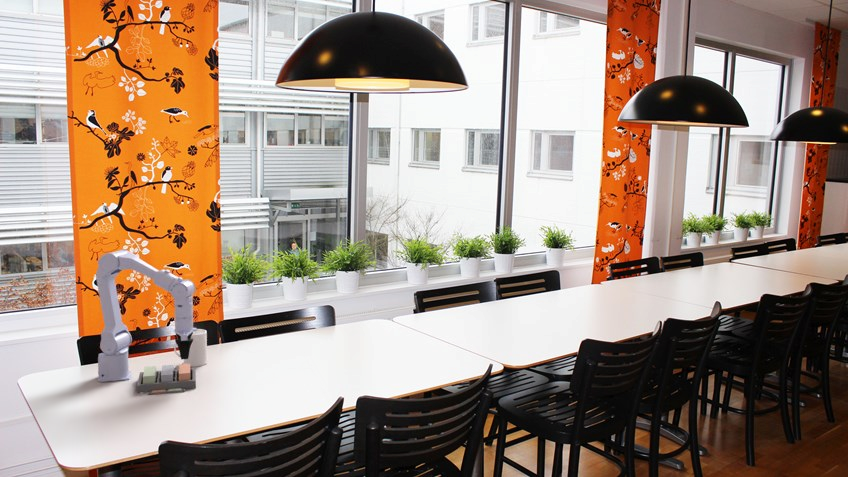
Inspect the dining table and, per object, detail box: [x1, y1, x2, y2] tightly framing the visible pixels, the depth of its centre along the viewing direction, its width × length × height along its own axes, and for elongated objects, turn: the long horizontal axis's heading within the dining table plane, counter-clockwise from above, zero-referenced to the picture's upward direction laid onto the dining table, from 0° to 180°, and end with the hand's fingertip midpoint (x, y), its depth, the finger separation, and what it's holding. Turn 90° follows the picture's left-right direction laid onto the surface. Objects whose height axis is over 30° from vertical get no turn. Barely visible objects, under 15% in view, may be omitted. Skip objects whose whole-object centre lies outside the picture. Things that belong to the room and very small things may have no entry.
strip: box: [147, 388, 186, 396], centre depth 217 cm, size 11×2×1 cm, turn 109°
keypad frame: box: [136, 367, 197, 394], centre depth 224 cm, size 18×13×3 cm
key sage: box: [142, 365, 157, 384], centre depth 222 cm, size 4×10×3 cm, turn 19°
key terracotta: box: [178, 363, 191, 381], centre depth 225 cm, size 4×10×3 cm, turn 19°
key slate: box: [160, 364, 174, 383], centre depth 224 cm, size 4×10×3 cm, turn 19°
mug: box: [173, 328, 209, 368], centre depth 244 cm, size 12×8×12 cm
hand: (184, 355), depth 225 cm, fingers open, 7 cm apart
